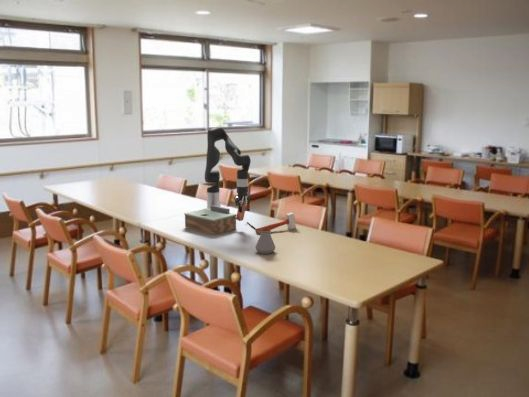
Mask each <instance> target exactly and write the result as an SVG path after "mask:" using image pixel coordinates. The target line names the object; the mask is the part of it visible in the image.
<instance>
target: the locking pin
mask: <svg viewBox="0 0 529 397" xmlns="http://www.w3.org/2000/svg"><path fill="white" fill-rule="evenodd" d="M240 204H241V203H240ZM247 205H248V204H246V203H244V202H243V203H242V212H239V206H237V207H238V208H237V212H236V214H237V216H236V221H238V222H241V221H244V219H245V213H246V211H245V209H246V210H247Z"/></svg>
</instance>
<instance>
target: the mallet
mask: <svg viewBox="0 0 529 397" xmlns="http://www.w3.org/2000/svg"><path fill="white" fill-rule="evenodd" d="M285 218H286V219H285V220H282V221H280V222H276V223H271V224H269V225H264V226H262V227H258V228H256V229H257V230H258V231H259V232H260V230H261V229H270V230H271V231H272V230H274V229H277V228H279V227H283V226H284V225H287V229H288V230H293V229H296V228H297V224H296V218H295V213H294V212H288V213H286V214H285ZM260 233H261V232H260ZM255 234H257V235H260V234H259V233H258V232H257V231H256V230H255Z"/></svg>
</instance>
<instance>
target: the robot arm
mask: <svg viewBox="0 0 529 397" xmlns="http://www.w3.org/2000/svg"><path fill="white" fill-rule="evenodd" d="M206 136H207V137H206V138H207V151H206V160H205V161H206V162H205V163H206V164H205V170H204V181H205V183H208V184H210V183H211V184H213V185H211V186H208V187H207V188H206V208H208V209H211V206H212V205H213V206H218V207H222V206H221V203H222V202H221V200H220V199H221V198H220V182H221V181H220V176H221V173H220V171H219V170H218V169H214V168H215V167H216V166H217V165H218V164H219V162H220V159H221V152H220V150H219V148H217V146H216V142H219V141H221V140H223V141H224V144H225V145H224V148H225V151H226V153H227V154H228V155H229V156H230V157H231V158H232V161H233V163H234V164H235V165H236V166H237V167H241V168H240V169H238V170H236V193H237V195H236V197H233V199H234V202H235V206H237V207H239V212H242V203H243V202H244V203H246V204H247V205H249V203H250V200H251V198H252V197H251V196H252V195H251V194H248V193H249V169H250V166H251V157H250V155H249V154H246V153H245V154H242V151H241V149H240V148H239V147H238V146H236V144H235V143H234V142H233V141H232V139H231V138H230V135H228V133H227V132H226V130H225V129H224V128H223V127H222V126H220V125H219V126H215V127H212V128H209V129H208V130H207V133H206ZM240 203H241V204H240ZM246 211H247V208H246V209H245V212H246Z"/></svg>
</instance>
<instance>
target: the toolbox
mask: <svg viewBox="0 0 529 397" xmlns="http://www.w3.org/2000/svg"><path fill="white" fill-rule="evenodd" d="M184 226H185V229H188V230H192V231H196V232H201V233H204V234H205V233H206V234H208V235H212V234H213V235H214V236H216V234H217V235H221V234H223V233H227V232H230V231H234V230H237V219H236V216H234V217H230V218H226V219H222V220H218V221H210V220H205V219H201V218H196V217H192V216H188V215H184ZM213 235H212V236H213Z"/></svg>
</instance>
